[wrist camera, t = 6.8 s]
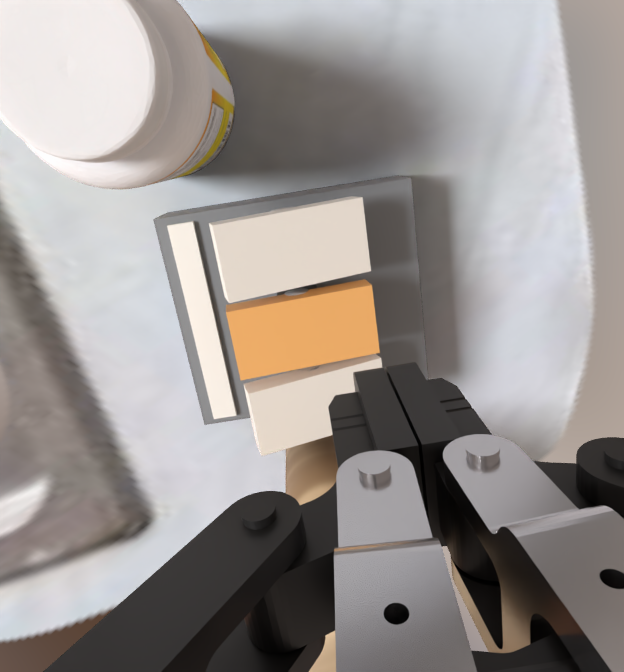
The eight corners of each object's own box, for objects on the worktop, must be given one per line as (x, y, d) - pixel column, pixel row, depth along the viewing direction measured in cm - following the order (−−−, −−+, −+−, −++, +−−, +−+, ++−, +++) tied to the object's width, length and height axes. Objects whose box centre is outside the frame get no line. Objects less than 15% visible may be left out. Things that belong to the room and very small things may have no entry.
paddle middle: (226, 302, 19) (225, 312, 18) (362, 276, 20) (371, 285, 18) (239, 365, 20) (240, 380, 19) (370, 340, 21) (380, 352, 19)
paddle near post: (241, 379, 20) (248, 393, 19) (366, 346, 21) (381, 358, 20) (254, 438, 21) (261, 456, 19) (373, 403, 22) (388, 417, 21)
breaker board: (167, 212, 22) (143, 224, 19) (397, 175, 22) (420, 179, 19) (212, 399, 25) (199, 441, 22) (415, 367, 25) (437, 403, 22)
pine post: (280, 405, 26) (272, 672, 12) (352, 394, 26) (421, 649, 12) (292, 467, 27) (296, 771, 14) (361, 456, 27) (433, 750, 14)
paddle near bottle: (207, 221, 18) (212, 225, 17) (347, 195, 19) (362, 197, 18) (222, 294, 19) (228, 303, 17) (355, 264, 20) (371, 271, 19)
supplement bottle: (87, 26, 20) (-100, -95, 10) (233, 28, 20) (185, -88, 11) (105, 177, 22) (-38, 196, 12) (239, 178, 22) (203, 196, 12)
